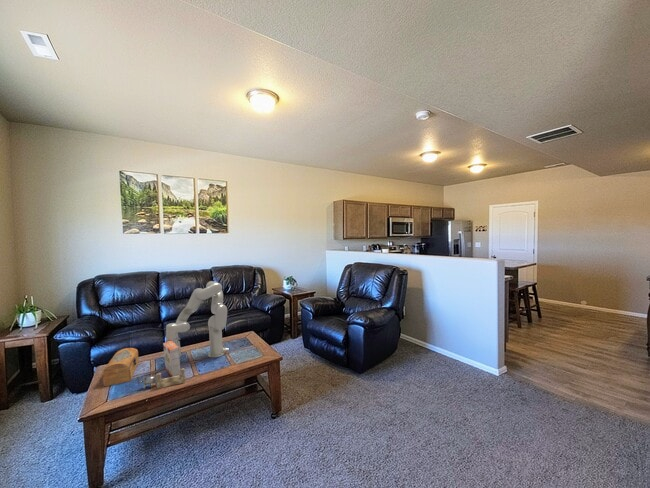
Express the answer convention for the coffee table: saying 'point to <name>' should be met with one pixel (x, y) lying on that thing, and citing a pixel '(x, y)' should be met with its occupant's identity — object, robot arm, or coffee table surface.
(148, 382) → the winch
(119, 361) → the wooden box
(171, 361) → the cracker box
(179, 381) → the bay
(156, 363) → the coffee table surface
